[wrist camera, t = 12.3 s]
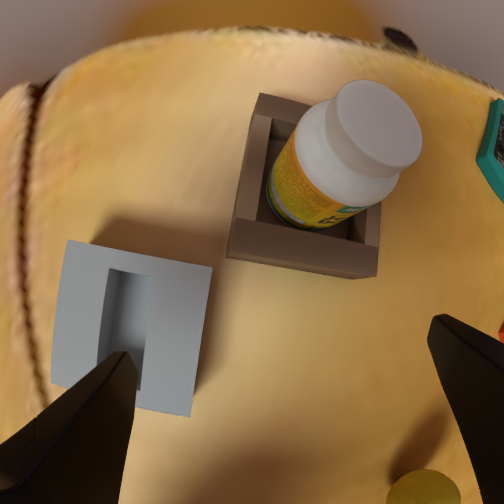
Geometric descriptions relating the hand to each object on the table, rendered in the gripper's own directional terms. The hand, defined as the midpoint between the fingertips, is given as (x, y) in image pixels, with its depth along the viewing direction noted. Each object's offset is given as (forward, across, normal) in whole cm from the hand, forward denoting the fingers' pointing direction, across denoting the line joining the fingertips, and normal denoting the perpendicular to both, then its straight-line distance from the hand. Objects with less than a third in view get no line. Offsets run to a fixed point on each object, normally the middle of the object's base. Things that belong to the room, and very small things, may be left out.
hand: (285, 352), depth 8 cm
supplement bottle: (+13, -3, -1) cm, 13 cm away
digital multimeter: (+23, -30, -2) cm, 38 cm away
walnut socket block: (+14, -3, -1) cm, 14 cm away
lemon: (+2, -9, +21) cm, 23 cm away
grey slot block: (+8, +8, +4) cm, 12 cm away
